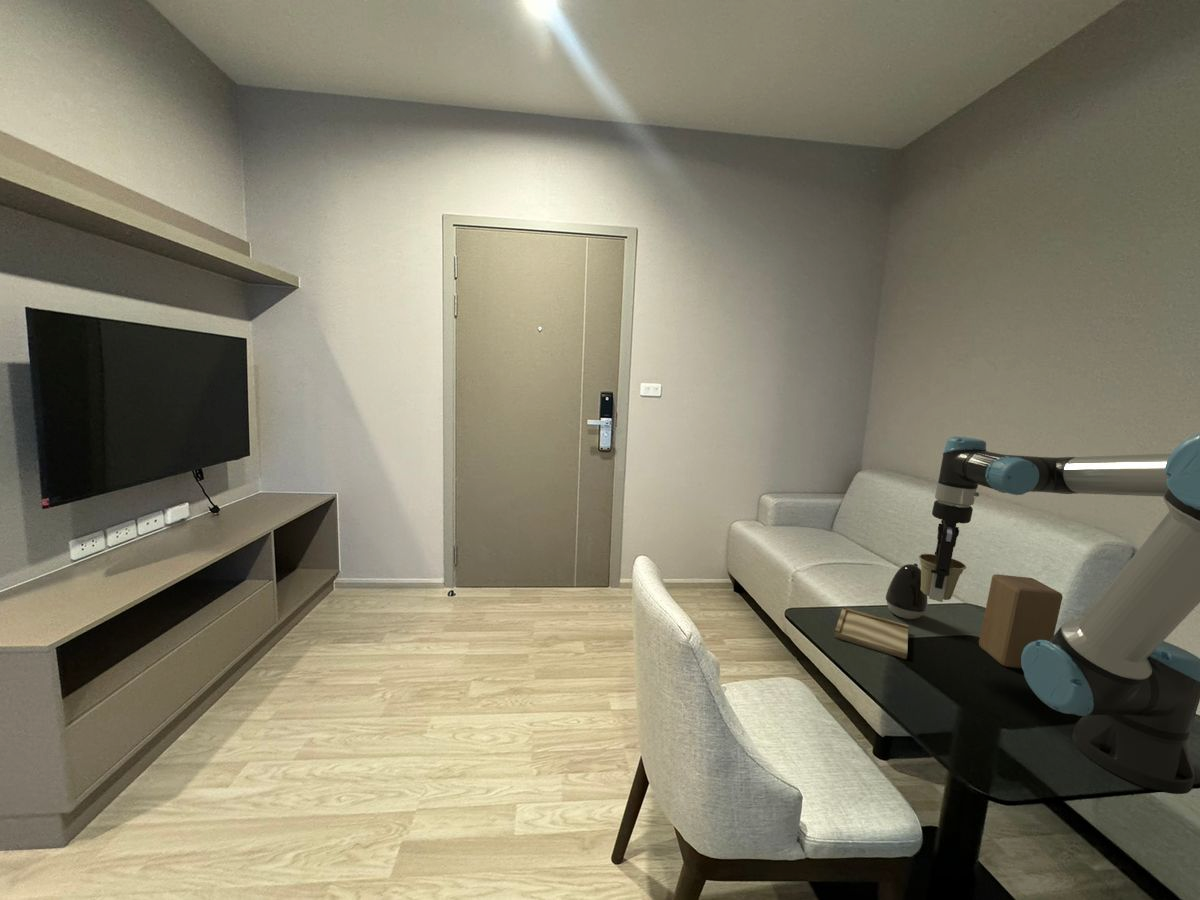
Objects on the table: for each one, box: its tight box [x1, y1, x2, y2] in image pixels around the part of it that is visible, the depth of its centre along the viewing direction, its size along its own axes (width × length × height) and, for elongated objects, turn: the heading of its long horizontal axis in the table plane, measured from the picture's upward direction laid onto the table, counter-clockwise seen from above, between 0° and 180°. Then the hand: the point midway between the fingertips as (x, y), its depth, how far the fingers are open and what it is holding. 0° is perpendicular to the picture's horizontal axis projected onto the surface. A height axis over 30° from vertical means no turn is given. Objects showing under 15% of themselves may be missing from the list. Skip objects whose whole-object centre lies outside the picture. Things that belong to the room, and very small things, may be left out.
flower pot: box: [918, 553, 967, 601], centre depth 120 cm, size 9×9×9 cm
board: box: [833, 606, 909, 660], centre depth 131 cm, size 16×16×2 cm
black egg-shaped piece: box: [885, 563, 928, 620], centre depth 143 cm, size 10×10×15 cm
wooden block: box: [978, 573, 1063, 669], centre depth 122 cm, size 10×10×20 cm
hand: (935, 593), depth 121 cm, fingers closed on flower pot, 8 cm apart
